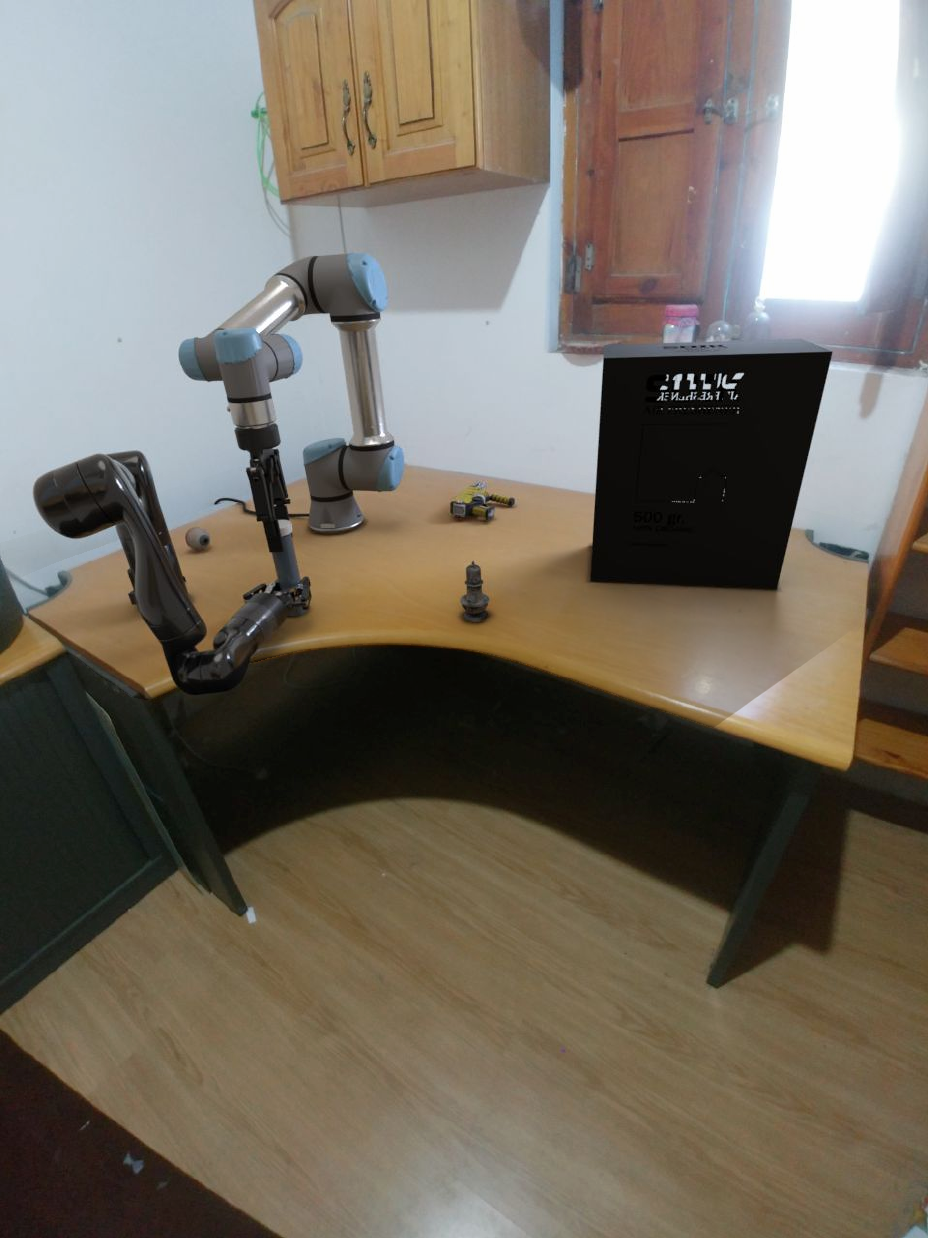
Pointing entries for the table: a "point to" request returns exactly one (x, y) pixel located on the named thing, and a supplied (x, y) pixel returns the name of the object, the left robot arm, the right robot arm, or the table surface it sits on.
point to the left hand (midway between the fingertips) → (296, 580)
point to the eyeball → (197, 538)
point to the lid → (285, 527)
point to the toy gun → (477, 502)
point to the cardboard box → (703, 460)
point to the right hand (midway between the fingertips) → (281, 543)
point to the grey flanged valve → (474, 595)
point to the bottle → (287, 569)
